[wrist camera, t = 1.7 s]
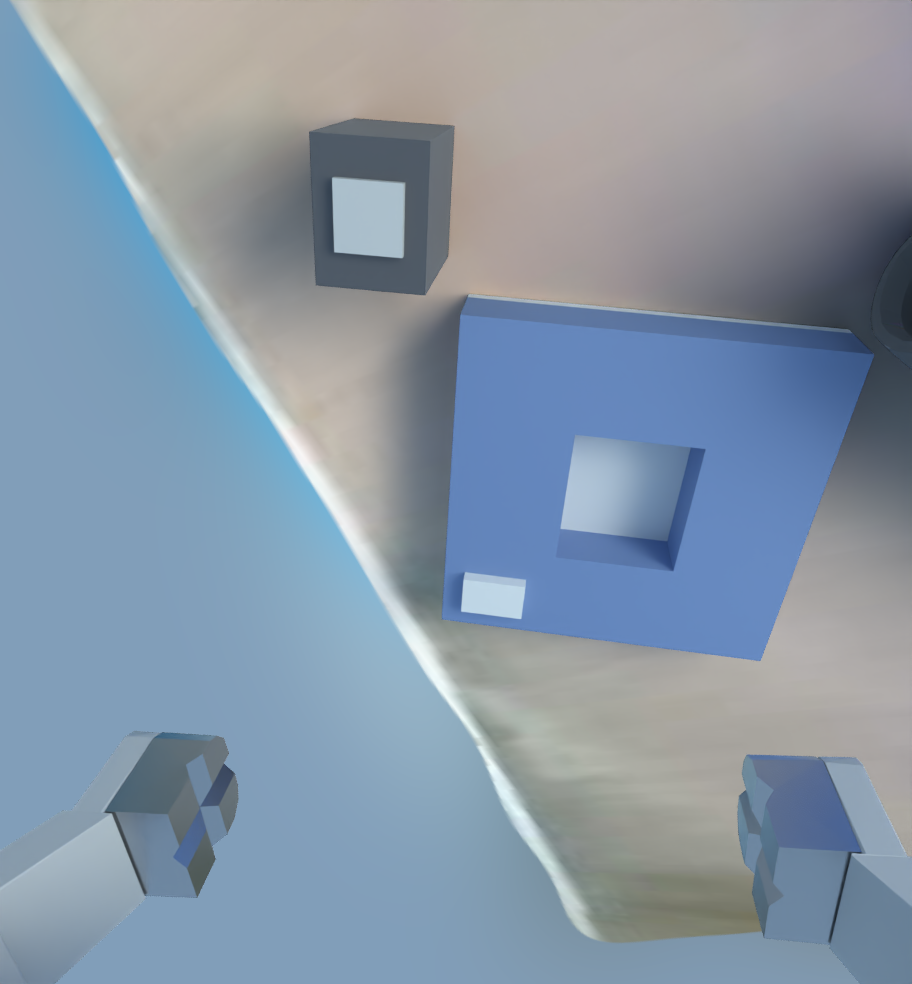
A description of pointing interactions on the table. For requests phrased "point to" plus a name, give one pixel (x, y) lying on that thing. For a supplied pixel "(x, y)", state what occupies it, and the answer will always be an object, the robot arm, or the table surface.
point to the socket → (638, 469)
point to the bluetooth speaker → (895, 305)
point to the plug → (381, 204)
